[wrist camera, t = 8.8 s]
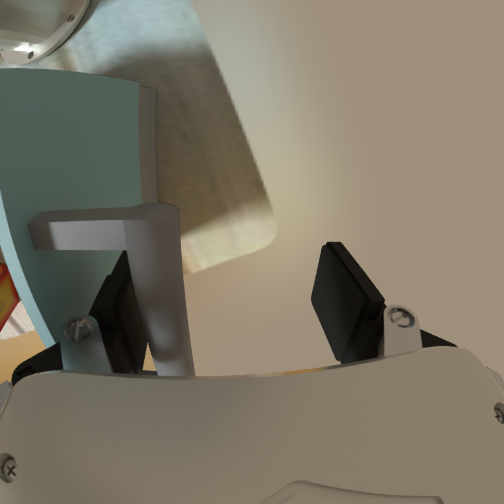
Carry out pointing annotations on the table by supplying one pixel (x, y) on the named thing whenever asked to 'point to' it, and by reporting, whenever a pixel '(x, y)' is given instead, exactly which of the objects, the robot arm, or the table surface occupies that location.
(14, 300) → the baking soda box
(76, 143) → the lid
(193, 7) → the table surface
